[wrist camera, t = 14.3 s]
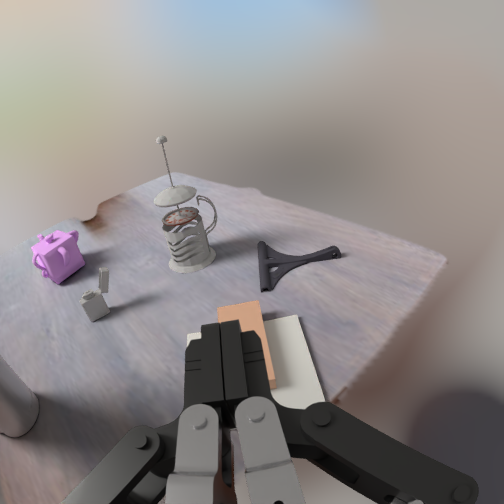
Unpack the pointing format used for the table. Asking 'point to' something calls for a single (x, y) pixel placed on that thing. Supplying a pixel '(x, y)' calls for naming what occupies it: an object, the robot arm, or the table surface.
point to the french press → (195, 248)
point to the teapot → (58, 255)
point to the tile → (250, 328)
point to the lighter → (97, 298)
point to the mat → (289, 364)
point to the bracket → (286, 262)
